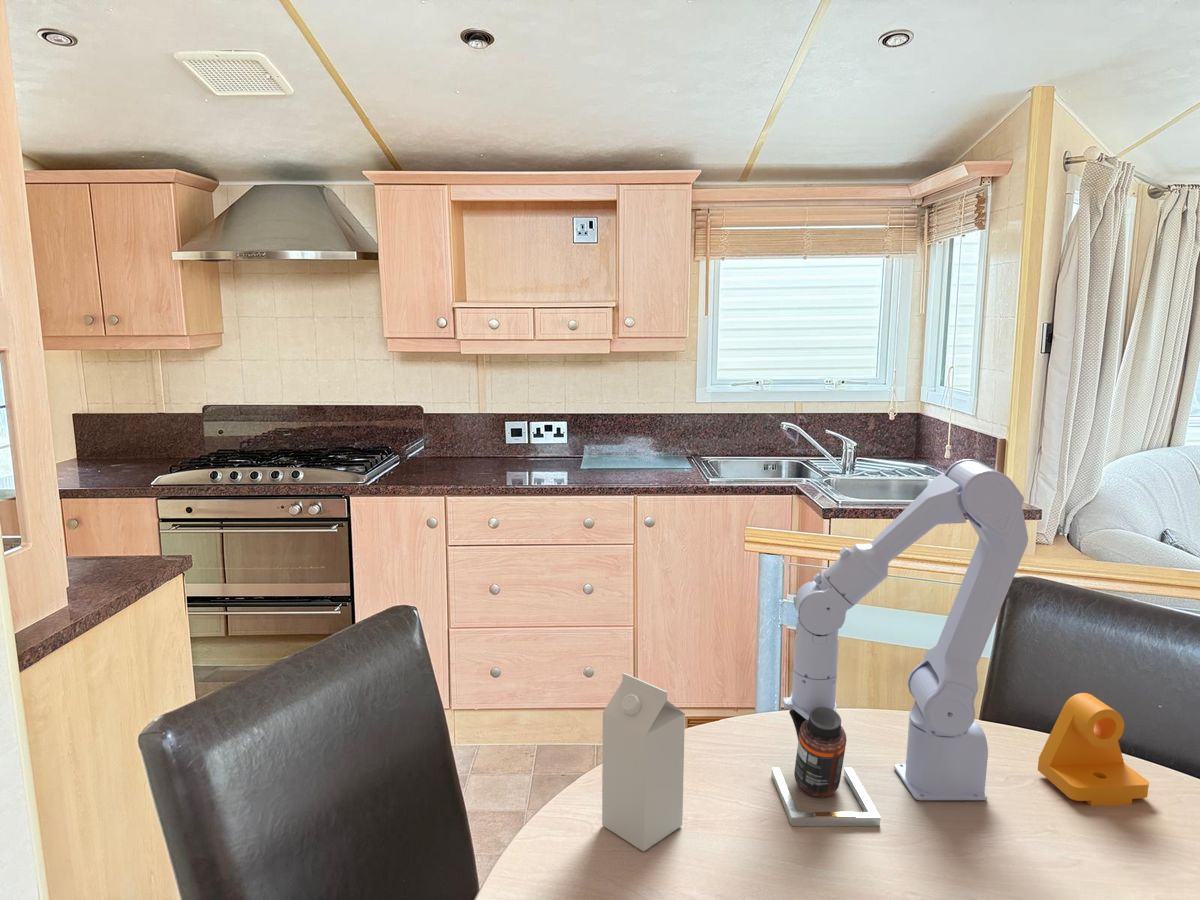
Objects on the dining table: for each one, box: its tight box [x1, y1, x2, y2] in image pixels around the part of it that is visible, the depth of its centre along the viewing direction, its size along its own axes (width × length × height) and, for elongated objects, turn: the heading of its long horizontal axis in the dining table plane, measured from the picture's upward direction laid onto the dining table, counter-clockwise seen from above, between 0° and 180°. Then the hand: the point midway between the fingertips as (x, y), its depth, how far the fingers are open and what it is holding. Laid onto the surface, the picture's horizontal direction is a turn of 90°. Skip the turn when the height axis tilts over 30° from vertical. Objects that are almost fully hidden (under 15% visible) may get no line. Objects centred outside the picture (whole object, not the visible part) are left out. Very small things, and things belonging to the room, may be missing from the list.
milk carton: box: [601, 672, 686, 852], centre depth 96 cm, size 7×7×19 cm
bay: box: [771, 767, 881, 827], centre depth 103 cm, size 11×11×1 cm
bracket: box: [1037, 692, 1150, 807], centre depth 105 cm, size 11×7×12 cm, turn 94°
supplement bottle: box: [794, 707, 847, 797], centre depth 103 cm, size 6×6×11 cm
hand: (809, 763), depth 108 cm, fingers closed, pressing on supplement bottle
